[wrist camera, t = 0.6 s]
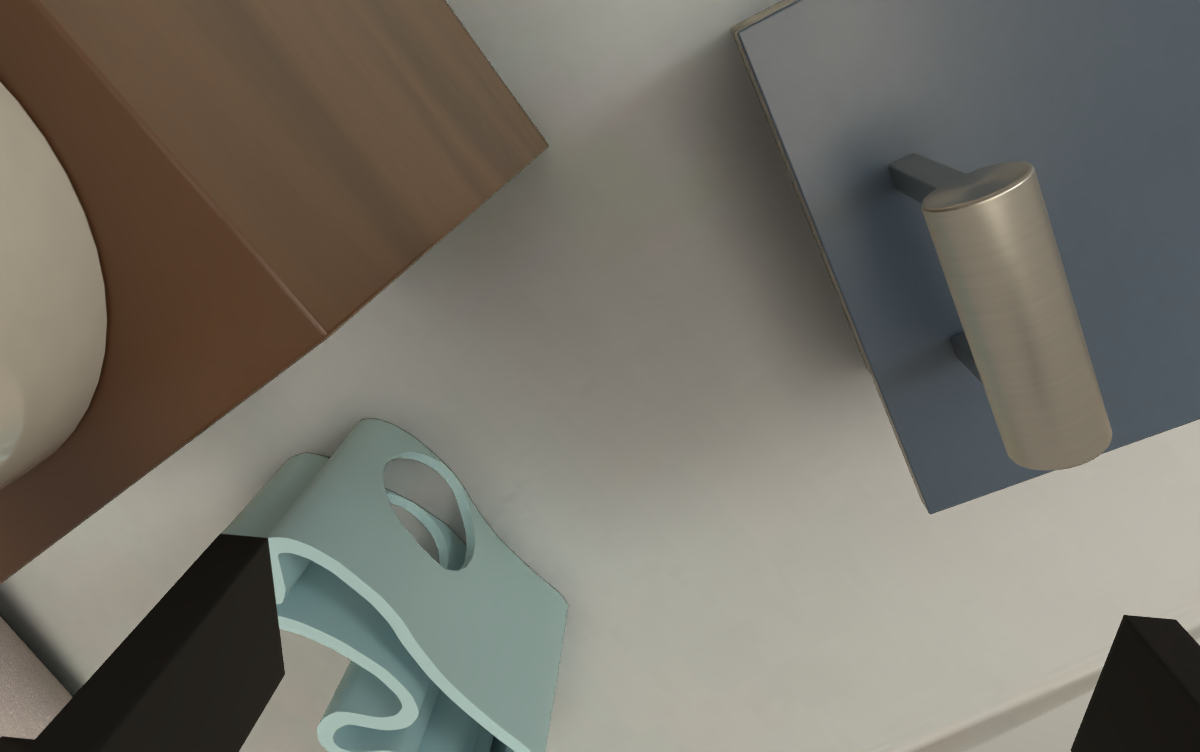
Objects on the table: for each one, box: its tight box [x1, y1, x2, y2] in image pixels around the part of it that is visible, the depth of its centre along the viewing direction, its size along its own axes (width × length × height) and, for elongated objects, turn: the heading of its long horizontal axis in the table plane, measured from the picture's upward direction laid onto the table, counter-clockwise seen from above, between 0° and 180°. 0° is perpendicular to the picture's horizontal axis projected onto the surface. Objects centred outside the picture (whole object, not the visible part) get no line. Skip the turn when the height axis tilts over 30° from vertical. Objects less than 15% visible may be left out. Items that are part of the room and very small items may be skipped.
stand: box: [0, 0, 548, 584], centre depth 20 cm, size 9×9×22 cm
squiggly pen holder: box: [221, 419, 568, 752], centre depth 34 cm, size 18×10×9 cm, turn 40°
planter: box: [0, 616, 73, 739], centre depth 40 cm, size 8×9×26 cm
